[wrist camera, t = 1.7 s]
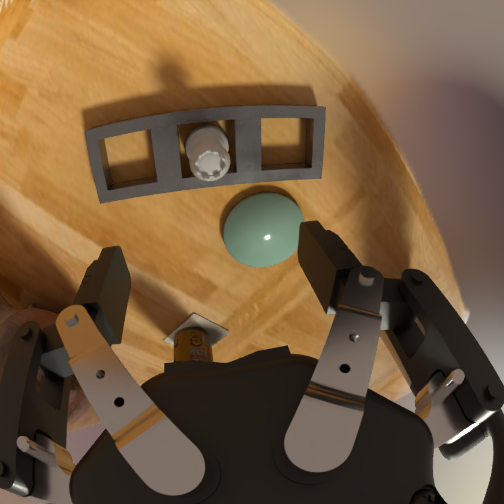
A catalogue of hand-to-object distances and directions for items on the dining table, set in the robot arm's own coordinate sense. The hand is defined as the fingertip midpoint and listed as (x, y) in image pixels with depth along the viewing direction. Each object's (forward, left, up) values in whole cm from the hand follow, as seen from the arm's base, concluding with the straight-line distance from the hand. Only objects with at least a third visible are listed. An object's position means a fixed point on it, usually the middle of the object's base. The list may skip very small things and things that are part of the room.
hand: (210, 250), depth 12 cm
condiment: (+4, +28, -19) cm, 34 cm away
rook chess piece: (-1, -1, -19) cm, 19 cm away
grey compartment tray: (-1, -1, -19) cm, 19 cm away
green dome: (-7, +10, -19) cm, 22 cm away
